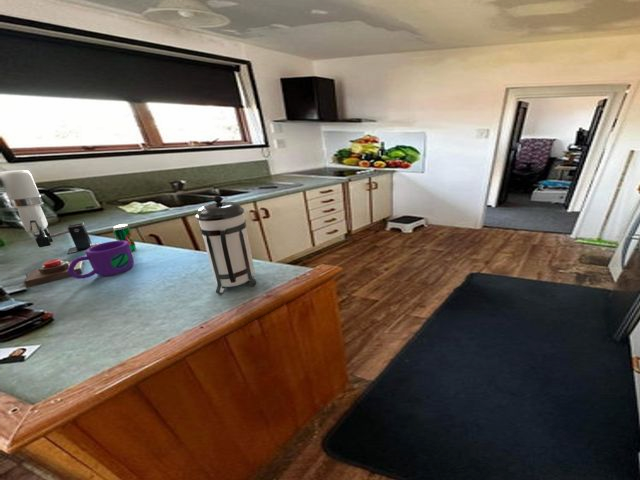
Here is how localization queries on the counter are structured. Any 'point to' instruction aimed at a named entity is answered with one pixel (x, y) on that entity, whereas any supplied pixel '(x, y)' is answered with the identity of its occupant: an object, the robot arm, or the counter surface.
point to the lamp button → (52, 263)
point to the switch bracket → (80, 238)
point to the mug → (105, 259)
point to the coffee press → (226, 243)
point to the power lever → (58, 234)
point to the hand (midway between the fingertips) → (46, 244)
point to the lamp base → (52, 273)
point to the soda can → (124, 235)
